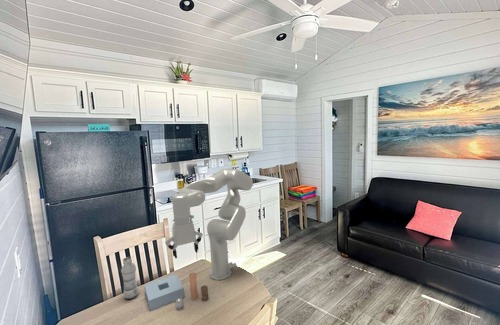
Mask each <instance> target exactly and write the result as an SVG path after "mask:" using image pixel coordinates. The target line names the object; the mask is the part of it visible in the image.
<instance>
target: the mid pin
mask: <svg viewBox="0 0 500 325" xmlns="http://www.w3.org/2000/svg"><path fill="white" fill-rule="evenodd" d="M200 293H201V300H202V301H203V302H207V301H209V287H208V285H206V284H205V285H202V286H201V287H200Z"/></svg>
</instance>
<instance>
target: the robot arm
mask: <svg viewBox="0 0 500 325" xmlns="http://www.w3.org/2000/svg"><path fill="white" fill-rule="evenodd" d="M253 180H254V179H253V178H252V177H251V176H250V175H248V174H247V173H245V172H243V171H241V170H240V169H236V168H222V169H219V170H218V171H217V172H215V173H213V174H211V175H210V176H209V177H206V178H202V179H200V180H196V181H193V182H190V183H188V184H187V185H185V186H183V187H182V188H181V189H180V190H179V191H178V192H177V193H176V194H173V195H172V197H171V202H172V203H171V205H172V212H173V214H172V215H173V221H174V223H173V224H172V229H171V230H172V236H171V237H170V238H169V239H167V240H165V242H164V243H165V245H166V247H167V248H168V249H170V250H171V251H172V257H174V259H178V255H177V253H178V252H177V247H178V246H183V245H187V244H191V243H193V247H194V249H193V250H194V252H195V253H198V250H199V244H200V241H201V240H202V238H203V235H204V234H203V233H202V232H199V231H196V230H195V224H194V222H193V219H195V216H194V215H191V208H193V207H198V206H201V205H202V204H204V203H205V201H206V194H211V193H215V192H218V191H219V190H221V189H222V188H224V186H226V189H227V195H226V197H225V199H224V200H223V203H222V205H221V206H220V208H219V210H218V217H219V218H218V219H217V218H213V219H211V220H209V221H208V223H207V226H206V231H207V232H206V233H207V236H208V240H209V248H210V250H209V251H210V261H211V262H210V264H211V269H210V270H209V272H208V275H209V277H210V279H212V280H215V281H216V280H217V281H222V280H225V279H227V278H229V277H230V276H231V275H232V272H233V271H232V268H235V267H237V263H236V262H234V263H233V262H232V261H231V262H229V253H228V249H229V248H228V241H233V240H235V238H236V237H237V235H238V234H239V232H240V230H241V228H242V225H243V224H244V221H245V219H246V208H245V207H244V206H242V205H240V203H241V195H240V192H239V191H244V192H245V191H246V192H247V191H250V190H251V189H252V188H253V187H254V186H253V185H254V181H253ZM172 242H173V244H170V243H172Z"/></svg>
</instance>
